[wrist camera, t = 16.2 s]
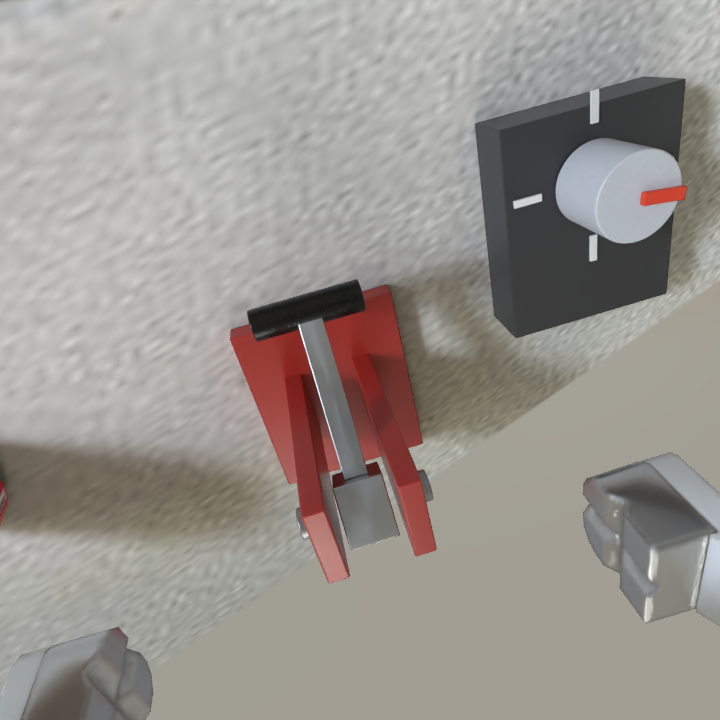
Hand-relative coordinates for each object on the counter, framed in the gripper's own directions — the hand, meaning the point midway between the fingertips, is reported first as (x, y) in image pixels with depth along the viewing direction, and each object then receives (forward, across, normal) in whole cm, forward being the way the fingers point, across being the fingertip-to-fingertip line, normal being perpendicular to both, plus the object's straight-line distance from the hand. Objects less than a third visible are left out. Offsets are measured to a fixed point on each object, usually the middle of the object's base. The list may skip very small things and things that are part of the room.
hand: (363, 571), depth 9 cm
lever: (+14, 0, +7) cm, 16 cm away
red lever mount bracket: (+21, 0, +10) cm, 23 cm away
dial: (+18, -15, +1) cm, 23 cm away
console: (+21, -15, +3) cm, 26 cm away
